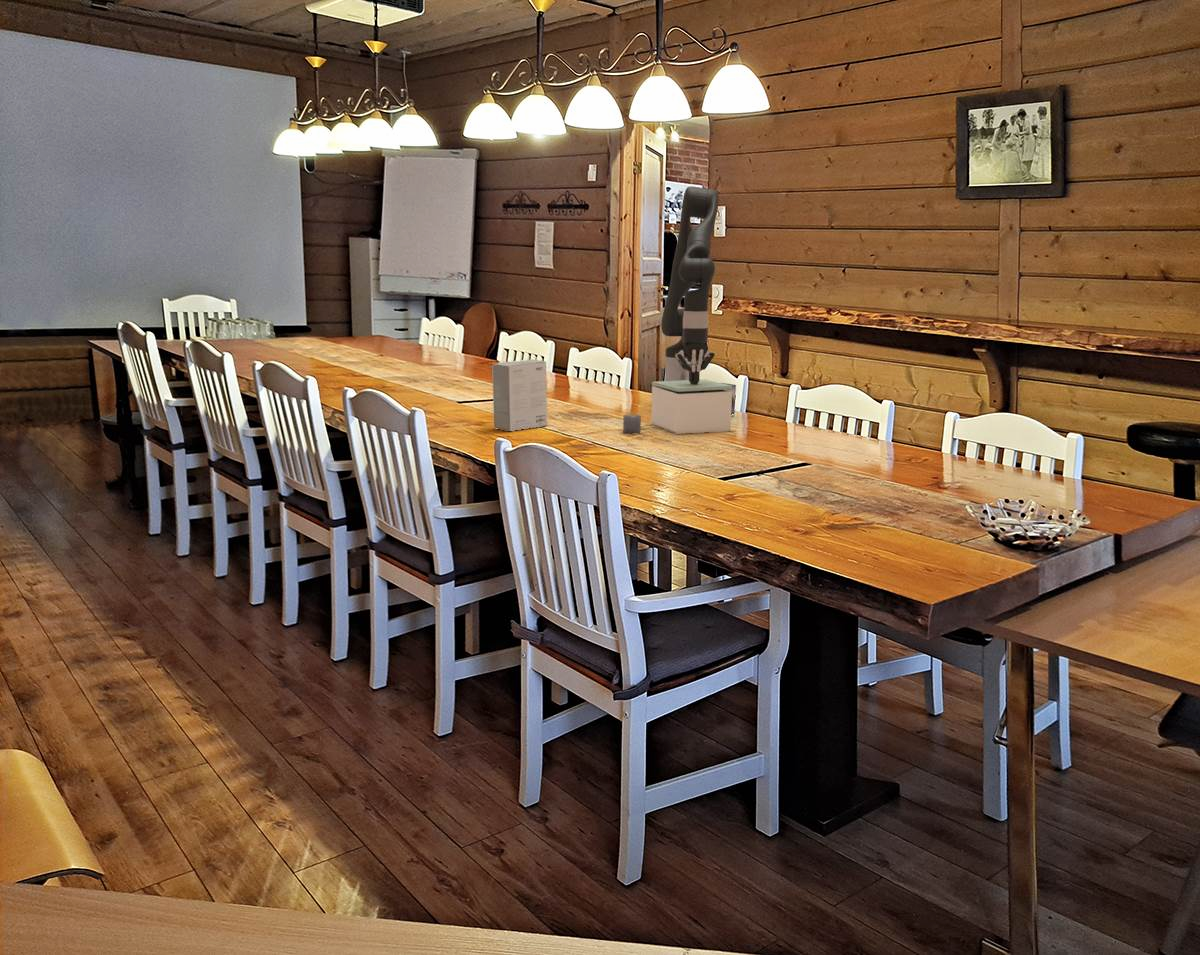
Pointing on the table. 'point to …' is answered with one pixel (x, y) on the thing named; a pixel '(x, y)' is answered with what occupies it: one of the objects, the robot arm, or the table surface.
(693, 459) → the table surface
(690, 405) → the storage box
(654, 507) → the table surface
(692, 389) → the lid
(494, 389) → the hard drive box
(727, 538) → the table surface
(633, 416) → the dark grey cylinder
